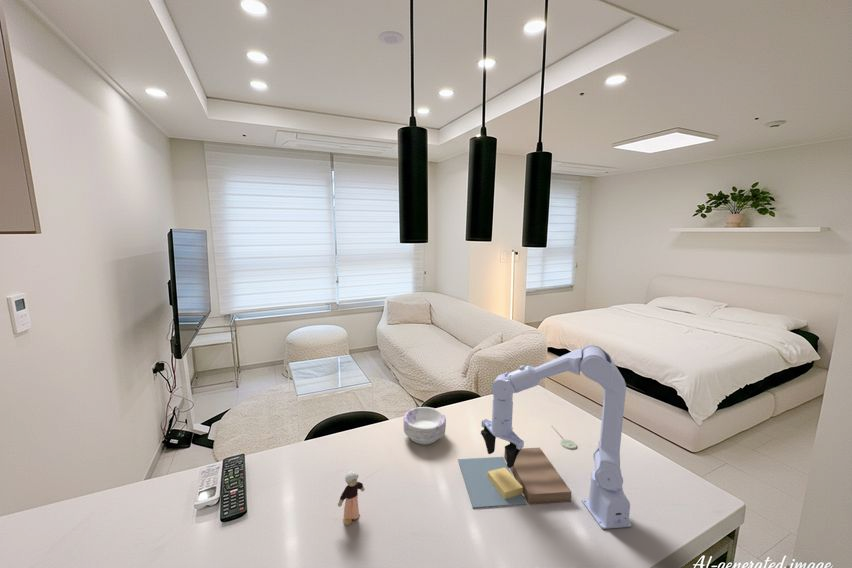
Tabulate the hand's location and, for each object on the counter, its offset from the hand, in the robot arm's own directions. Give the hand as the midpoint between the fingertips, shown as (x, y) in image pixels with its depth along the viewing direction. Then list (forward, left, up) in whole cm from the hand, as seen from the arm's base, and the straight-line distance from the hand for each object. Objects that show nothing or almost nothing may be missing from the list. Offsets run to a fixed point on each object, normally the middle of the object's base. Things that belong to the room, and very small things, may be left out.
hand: (500, 459), depth 101 cm
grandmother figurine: (-10, +42, -7) cm, 44 cm away
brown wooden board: (0, -11, -7) cm, 13 cm away
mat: (0, +3, -7) cm, 7 cm away
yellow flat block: (-3, 0, -6) cm, 7 cm away
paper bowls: (+24, +20, -7) cm, 32 cm away
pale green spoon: (+20, -30, -7) cm, 37 cm away
